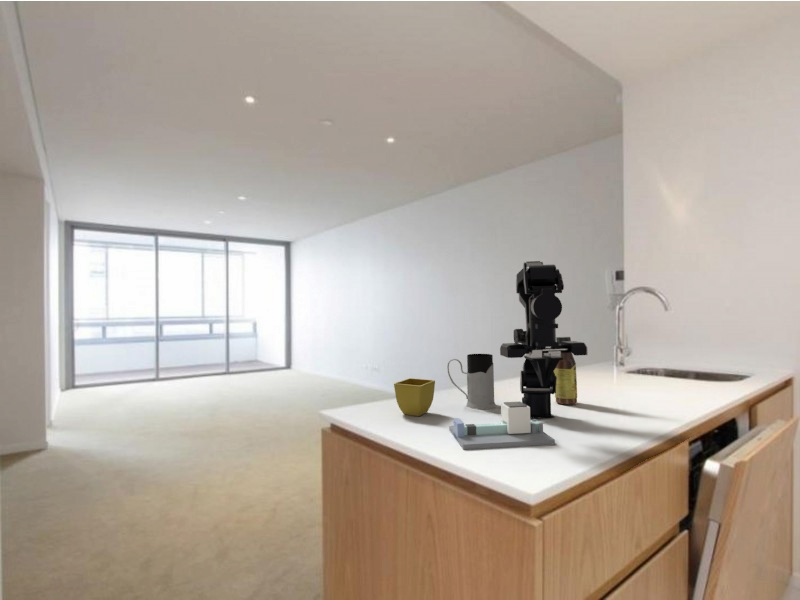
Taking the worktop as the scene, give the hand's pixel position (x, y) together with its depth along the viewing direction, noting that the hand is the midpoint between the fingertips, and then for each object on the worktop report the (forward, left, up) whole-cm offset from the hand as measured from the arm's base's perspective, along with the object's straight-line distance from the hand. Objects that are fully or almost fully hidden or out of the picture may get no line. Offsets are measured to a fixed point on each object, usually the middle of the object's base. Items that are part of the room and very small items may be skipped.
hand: (544, 386), depth 99 cm
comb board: (+11, 0, -11) cm, 15 cm away
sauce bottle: (-19, -28, -11) cm, 36 cm away
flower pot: (+27, -24, -11) cm, 38 cm away
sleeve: (+7, 0, -10) cm, 12 cm away
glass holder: (+9, -31, -11) cm, 34 cm away
